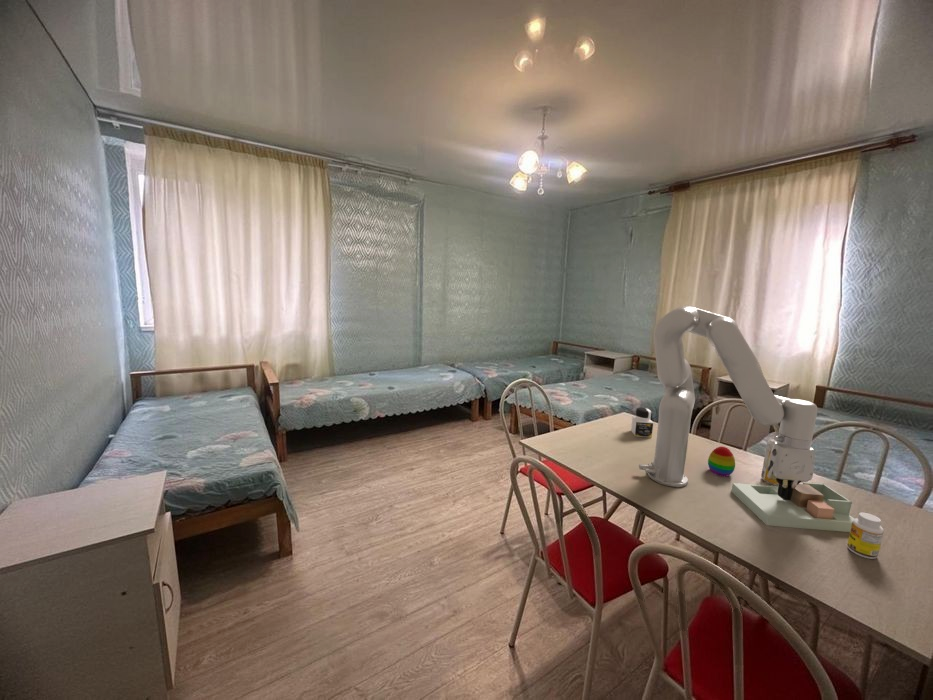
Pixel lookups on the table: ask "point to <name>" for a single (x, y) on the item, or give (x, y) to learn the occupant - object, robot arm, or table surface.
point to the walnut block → (805, 495)
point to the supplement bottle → (866, 536)
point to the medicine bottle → (642, 423)
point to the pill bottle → (767, 454)
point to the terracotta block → (819, 509)
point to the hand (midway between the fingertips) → (783, 497)
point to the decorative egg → (721, 461)
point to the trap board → (794, 507)
